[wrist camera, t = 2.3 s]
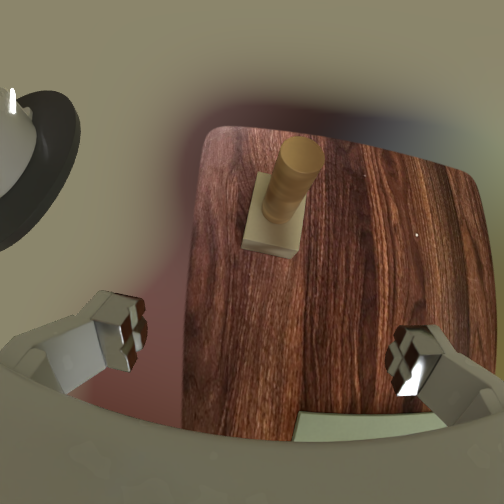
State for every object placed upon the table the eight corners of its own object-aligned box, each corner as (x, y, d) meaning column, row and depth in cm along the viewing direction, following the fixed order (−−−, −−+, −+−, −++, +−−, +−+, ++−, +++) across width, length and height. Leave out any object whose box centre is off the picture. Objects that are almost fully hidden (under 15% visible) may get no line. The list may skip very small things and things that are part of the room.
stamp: (240, 248, 28) (255, 190, 17) (254, 185, 30) (273, 108, 19) (290, 259, 29) (335, 210, 17) (300, 196, 31) (340, 126, 19)
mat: (260, 541, 20) (261, 545, 19) (298, 410, 25) (300, 412, 24) (405, 524, 20) (408, 526, 20) (447, 409, 26) (451, 410, 25)
